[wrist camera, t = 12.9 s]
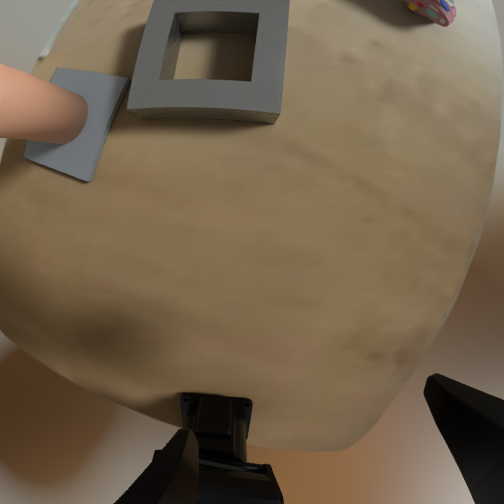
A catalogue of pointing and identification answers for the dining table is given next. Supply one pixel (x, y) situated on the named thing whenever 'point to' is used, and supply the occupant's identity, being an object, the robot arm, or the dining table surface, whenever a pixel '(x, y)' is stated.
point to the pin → (38, 109)
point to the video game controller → (434, 10)
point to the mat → (95, 130)
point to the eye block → (206, 90)
